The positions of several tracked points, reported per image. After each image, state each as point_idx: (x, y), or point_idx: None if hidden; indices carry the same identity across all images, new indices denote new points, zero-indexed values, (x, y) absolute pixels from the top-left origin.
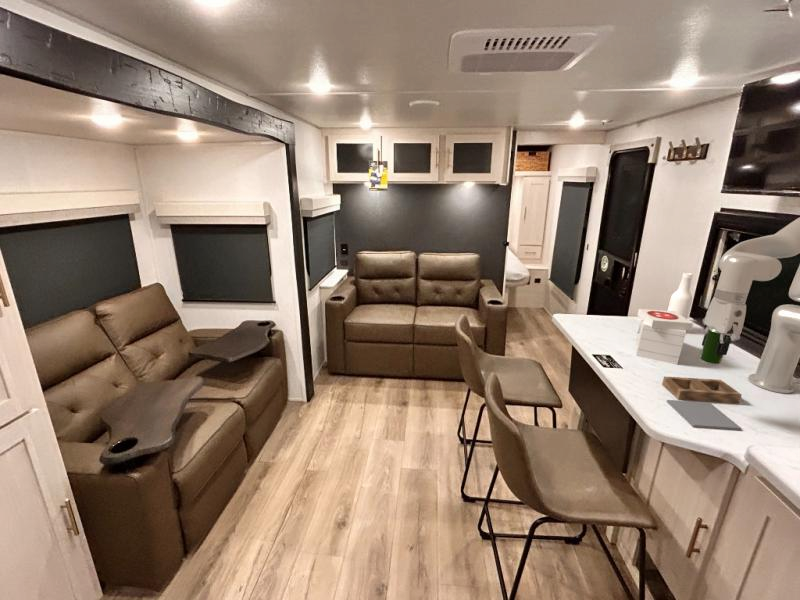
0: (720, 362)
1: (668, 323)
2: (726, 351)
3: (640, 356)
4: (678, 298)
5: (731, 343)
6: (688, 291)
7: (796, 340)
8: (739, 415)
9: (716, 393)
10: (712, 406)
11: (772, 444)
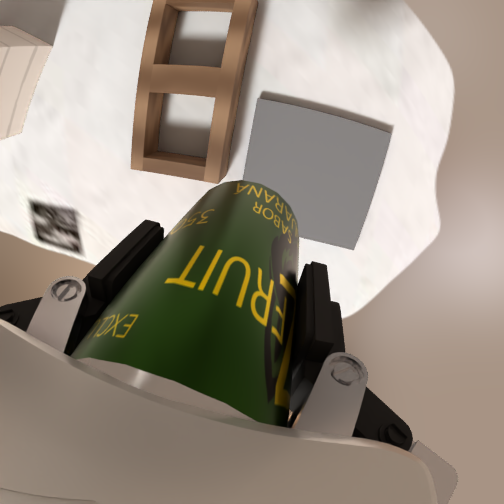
0: (294, 216)
1: None
2: (339, 307)
3: (23, 124)
4: None
5: (363, 368)
6: None
7: None
8: (323, 58)
9: (238, 66)
10: (280, 109)
11: (444, 115)
